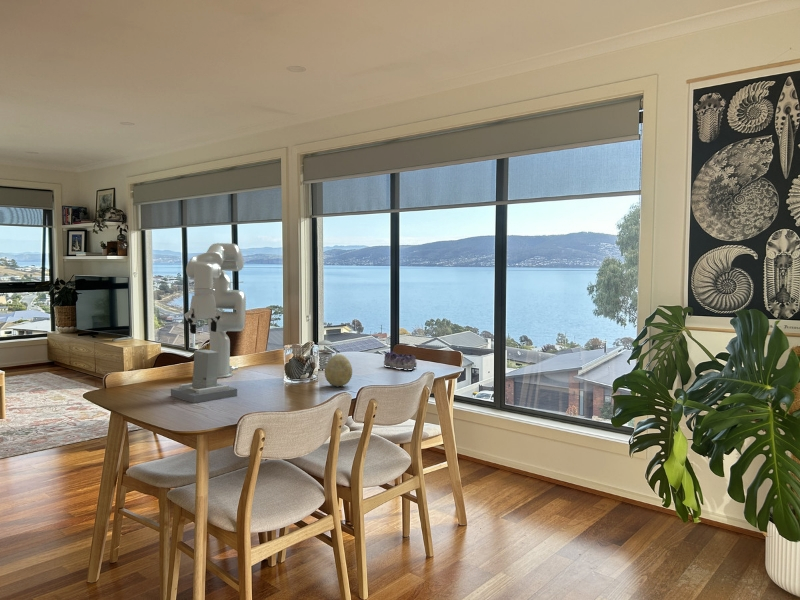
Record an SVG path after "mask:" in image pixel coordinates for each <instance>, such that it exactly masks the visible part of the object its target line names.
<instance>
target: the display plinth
mask: <svg viewBox="0 0 800 600" xmlns="http://www.w3.org/2000/svg"><path fill="white" fill-rule="evenodd" d="M178 386H179V387H174V388H170V397H173V398H176V399H179V400H183V401H186V402H189V403H193V404H198V403H203V402H209V401H210V402H211V401H215V399H216V400H220V399H221V398H222V399H227V397H228V398H232V397H238V388H236V387H231V386H230V385H228V384H220V383H217V386H216V387H210V388H203V389H196V388H192V382H190V383H183V384H179V385H178ZM222 399H221V400H222Z"/></svg>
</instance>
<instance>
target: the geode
mask: <svg viewBox="0 0 800 600" xmlns="http://www.w3.org/2000/svg"><path fill="white" fill-rule="evenodd" d="M416 358H417V357H416V356H415V355H413V354H402V353H399V354H397V353H396V352H395V351H393V350H391V351H390V352H389V351H387V352H386V353H384V361H383V366H384V365H386V366H390V367H396V368H403V369H413V368H414V367H416V368H417V360H416ZM414 369H415V368H414ZM414 369H413V370H414Z"/></svg>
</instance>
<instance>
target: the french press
mask: <svg viewBox="0 0 800 600" xmlns="http://www.w3.org/2000/svg"><path fill="white" fill-rule="evenodd" d="M323 325H324V326H327V325H328V323H327V322H325V321H324V322H323ZM317 345H318V346H330V348H331V349H334V350H335V355H336V354H338V349H337V348H336V347H335V346H334V345H333V342H332V341H330V340H327V339H323V340H320V341H318V342H317ZM331 349H319V352H318V353H319V357H320V359H319V361H320V362H319V363H320V364H319V365H320V369H325V366H326V364H327V362H328V361H329V359H330V358H331V357H333V353H332V350H331Z"/></svg>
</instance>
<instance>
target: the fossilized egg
mask: <svg viewBox="0 0 800 600" xmlns="http://www.w3.org/2000/svg"><path fill="white" fill-rule="evenodd" d="M327 361H328V360H327ZM326 363H327V364H326V366H325V370H324V377H325V380H326V381H327V383H329V385H331V386H332V387H335V386H341V387H344V386H345V385H347V384H348V383H349V382H350V381H351V379H352V376H353V367H352V364H351V362H350V360H349V359H348V358H347V357H346V355H343V354H340V353H337V354H336V353H335V354H334V355H332V357H331V358H330V359H329V361H328V362H326ZM343 385H344V386H343Z"/></svg>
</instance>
